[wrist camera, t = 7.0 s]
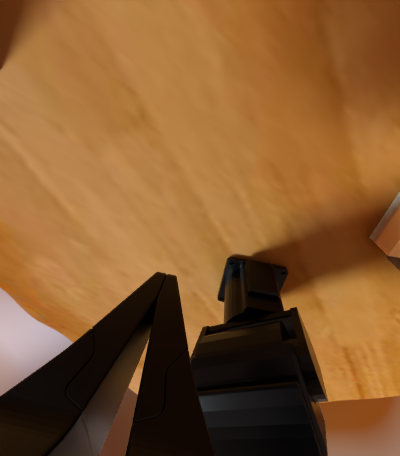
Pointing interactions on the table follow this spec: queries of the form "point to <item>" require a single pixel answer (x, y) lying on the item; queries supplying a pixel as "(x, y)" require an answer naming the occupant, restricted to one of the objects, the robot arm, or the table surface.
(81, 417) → the robot arm
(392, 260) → the taupe rectangular slab
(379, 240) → the plate
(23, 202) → the table surface
